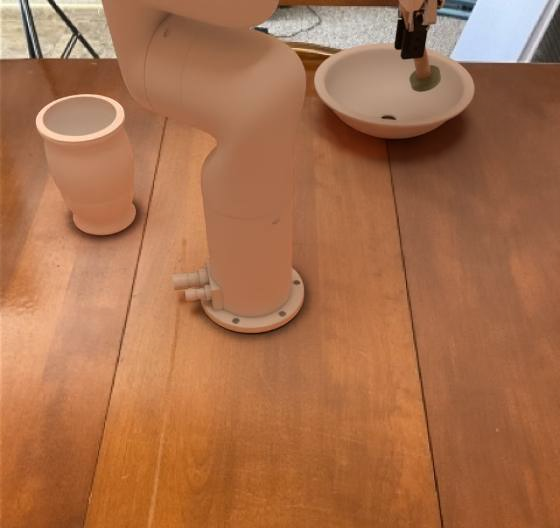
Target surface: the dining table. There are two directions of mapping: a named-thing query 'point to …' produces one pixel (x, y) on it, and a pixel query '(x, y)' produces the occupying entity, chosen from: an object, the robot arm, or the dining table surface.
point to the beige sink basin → (390, 91)
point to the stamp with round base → (422, 68)
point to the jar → (90, 160)
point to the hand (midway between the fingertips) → (408, 52)
